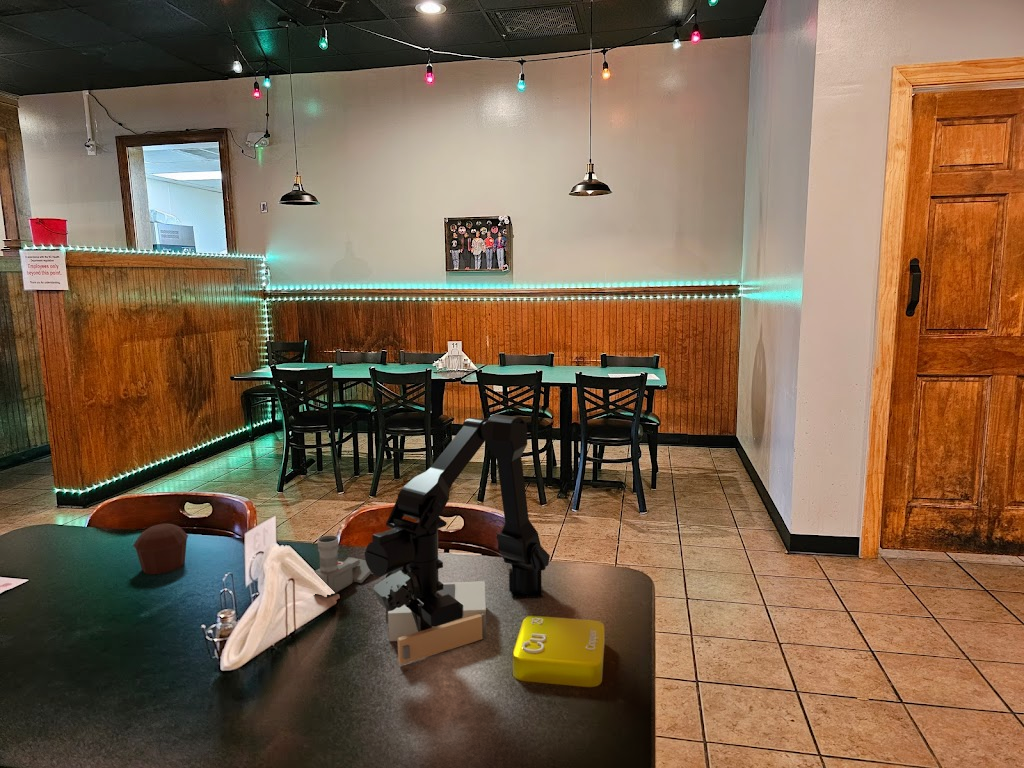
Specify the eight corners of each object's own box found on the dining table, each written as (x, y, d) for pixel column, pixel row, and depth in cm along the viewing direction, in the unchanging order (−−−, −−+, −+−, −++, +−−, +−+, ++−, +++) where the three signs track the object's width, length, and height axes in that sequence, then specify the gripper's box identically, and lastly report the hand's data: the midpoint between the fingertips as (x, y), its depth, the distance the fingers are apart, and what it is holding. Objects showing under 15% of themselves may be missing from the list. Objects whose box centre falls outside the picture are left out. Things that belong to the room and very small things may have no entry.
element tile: (601, 690, 106) (601, 663, 105) (510, 682, 109) (510, 655, 108) (604, 642, 121) (604, 617, 120) (524, 635, 123) (524, 611, 123)
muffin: (158, 555, 162) (155, 517, 160) (200, 557, 160) (196, 518, 159) (124, 576, 150) (120, 534, 149) (168, 578, 149) (164, 536, 147)
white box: (485, 606, 134) (484, 579, 133) (486, 637, 122) (485, 608, 121) (391, 610, 133) (390, 583, 132) (383, 641, 121) (382, 612, 120)
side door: (484, 635, 122) (484, 612, 121) (489, 639, 120) (488, 616, 120) (398, 662, 113) (397, 637, 113) (402, 667, 112) (401, 642, 111)
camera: (301, 540, 139) (347, 519, 153) (303, 593, 141) (349, 567, 154) (333, 547, 136) (377, 524, 149) (335, 601, 137) (379, 574, 151)
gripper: (357, 549, 117) (360, 629, 120) (403, 588, 102) (406, 679, 105) (413, 535, 124) (415, 612, 126) (464, 570, 109) (465, 656, 111)
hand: (423, 638), depth 117 cm, fingers closed
